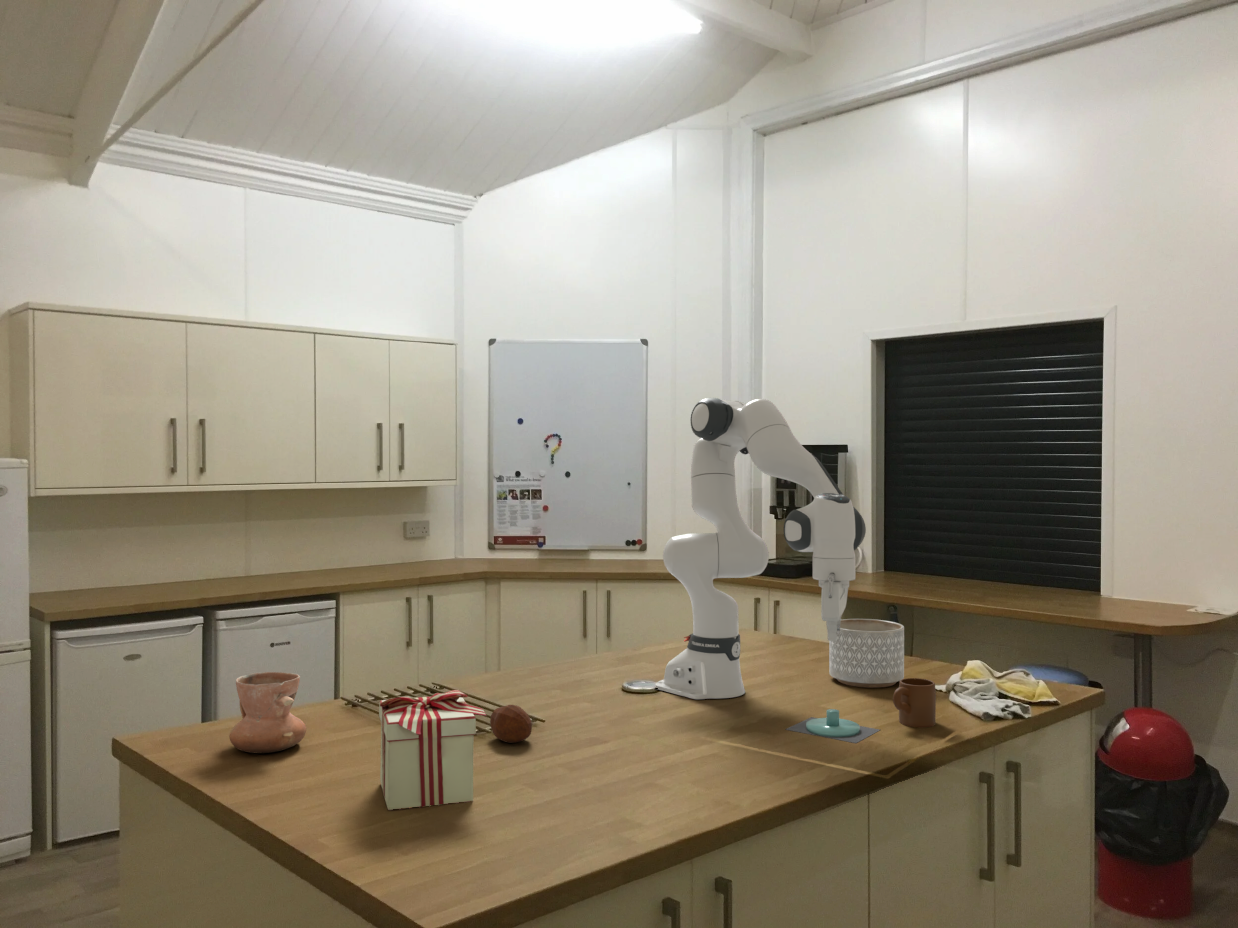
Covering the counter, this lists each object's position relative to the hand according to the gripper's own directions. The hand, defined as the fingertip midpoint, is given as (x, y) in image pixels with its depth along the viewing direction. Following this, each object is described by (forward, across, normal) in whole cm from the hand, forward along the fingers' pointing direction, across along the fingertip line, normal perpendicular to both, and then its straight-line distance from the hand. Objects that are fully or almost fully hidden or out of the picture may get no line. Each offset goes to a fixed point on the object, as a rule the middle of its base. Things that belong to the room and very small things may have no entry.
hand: (834, 636), depth 208 cm
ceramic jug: (+20, -42, +108) cm, 118 cm away
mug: (+20, +9, -15) cm, 27 cm away
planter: (+20, +50, -4) cm, 54 cm away
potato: (+20, -25, +63) cm, 70 cm away
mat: (+20, 0, 0) cm, 20 cm away
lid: (+20, 0, 0) cm, 20 cm away
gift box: (+21, -58, +64) cm, 89 cm away
